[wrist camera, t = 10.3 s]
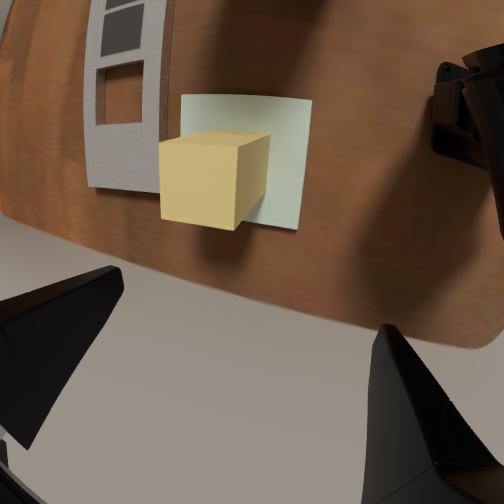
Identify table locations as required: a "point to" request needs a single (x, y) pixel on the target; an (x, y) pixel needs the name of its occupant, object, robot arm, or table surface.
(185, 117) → the sage mat
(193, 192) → the ochre block
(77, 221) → the table surface
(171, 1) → the rail plate
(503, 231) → the robot arm
